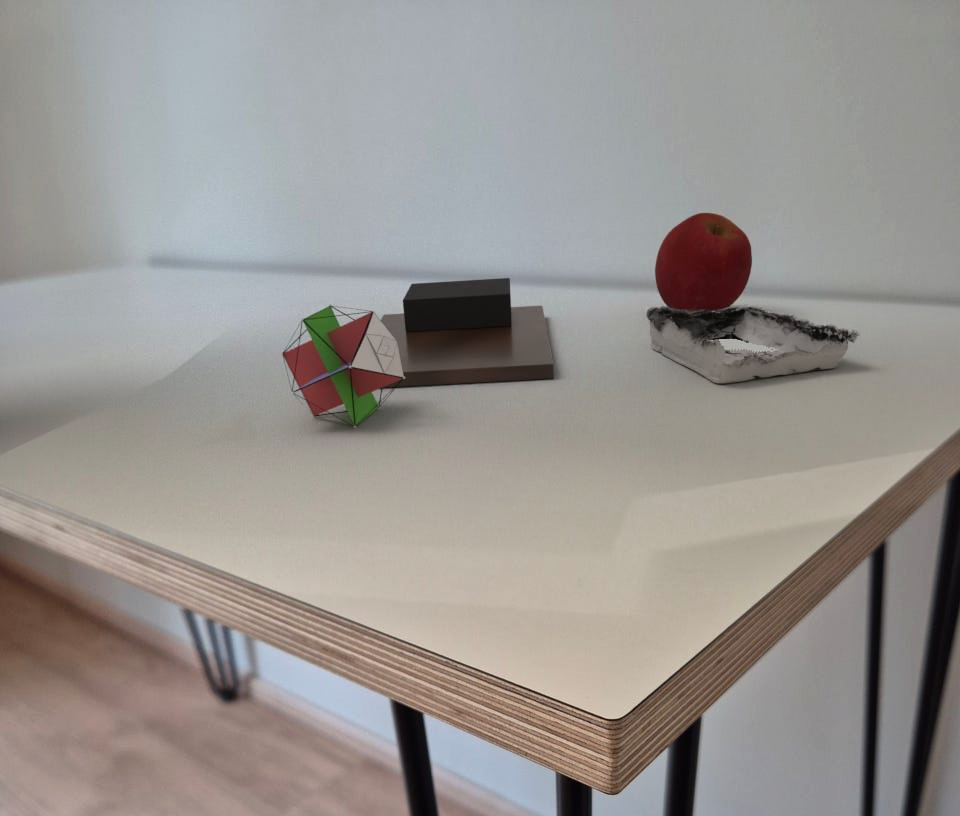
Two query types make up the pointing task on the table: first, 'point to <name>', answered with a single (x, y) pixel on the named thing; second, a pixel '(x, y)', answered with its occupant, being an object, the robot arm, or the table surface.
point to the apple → (703, 264)
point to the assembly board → (475, 351)
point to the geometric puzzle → (344, 363)
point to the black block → (457, 305)
